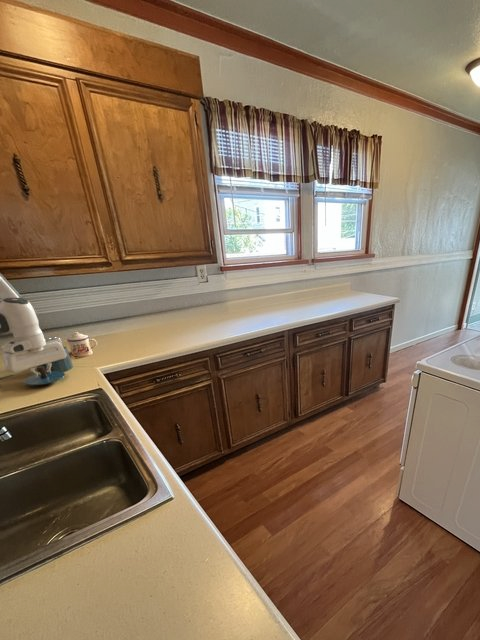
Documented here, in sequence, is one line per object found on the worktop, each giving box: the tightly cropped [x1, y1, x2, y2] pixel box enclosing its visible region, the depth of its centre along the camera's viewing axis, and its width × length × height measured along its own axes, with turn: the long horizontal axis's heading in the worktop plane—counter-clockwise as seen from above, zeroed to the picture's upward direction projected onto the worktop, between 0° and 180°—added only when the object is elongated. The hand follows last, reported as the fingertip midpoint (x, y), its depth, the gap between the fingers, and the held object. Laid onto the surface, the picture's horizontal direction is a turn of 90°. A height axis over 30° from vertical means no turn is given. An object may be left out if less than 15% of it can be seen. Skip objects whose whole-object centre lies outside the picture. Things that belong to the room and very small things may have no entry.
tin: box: [36, 345, 74, 373], centre depth 144 cm, size 13×18×10 cm
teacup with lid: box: [66, 331, 98, 358], centre depth 163 cm, size 12×9×12 cm
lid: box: [23, 366, 66, 386], centre depth 131 cm, size 14×14×6 cm
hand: (43, 375), depth 131 cm, fingers closed on lid, 2 cm apart
